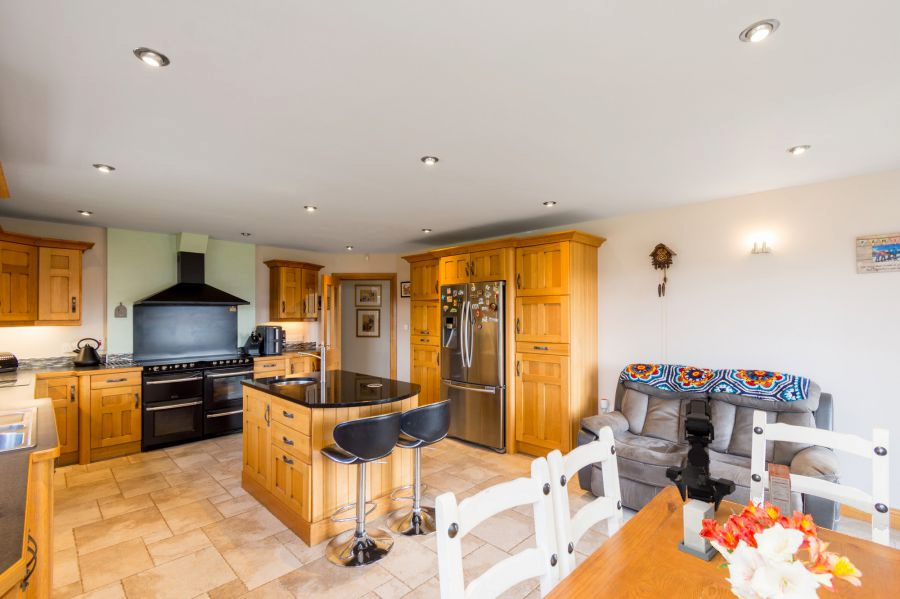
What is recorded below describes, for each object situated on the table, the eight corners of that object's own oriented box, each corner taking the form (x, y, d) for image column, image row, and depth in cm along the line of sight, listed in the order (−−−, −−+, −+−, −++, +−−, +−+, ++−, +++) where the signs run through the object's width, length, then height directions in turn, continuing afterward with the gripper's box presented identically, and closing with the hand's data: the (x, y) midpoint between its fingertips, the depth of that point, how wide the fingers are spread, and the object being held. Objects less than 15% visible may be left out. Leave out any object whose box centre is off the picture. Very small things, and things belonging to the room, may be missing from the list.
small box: (693, 538, 140) (693, 498, 141) (715, 546, 135) (714, 504, 136) (683, 547, 135) (682, 505, 136) (705, 555, 130) (704, 512, 131)
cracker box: (769, 521, 153) (767, 462, 153) (790, 526, 149) (789, 465, 150) (770, 538, 141) (768, 474, 142) (793, 543, 138) (791, 478, 138)
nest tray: (691, 537, 142) (691, 531, 142) (721, 547, 136) (721, 542, 136) (677, 549, 135) (677, 543, 135) (708, 561, 128) (708, 555, 128)
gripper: (657, 455, 139) (658, 504, 138) (722, 471, 124) (724, 525, 124) (672, 447, 146) (673, 494, 145) (735, 462, 131) (736, 513, 131)
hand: (699, 506), depth 136 cm, fingers open, 9 cm apart
